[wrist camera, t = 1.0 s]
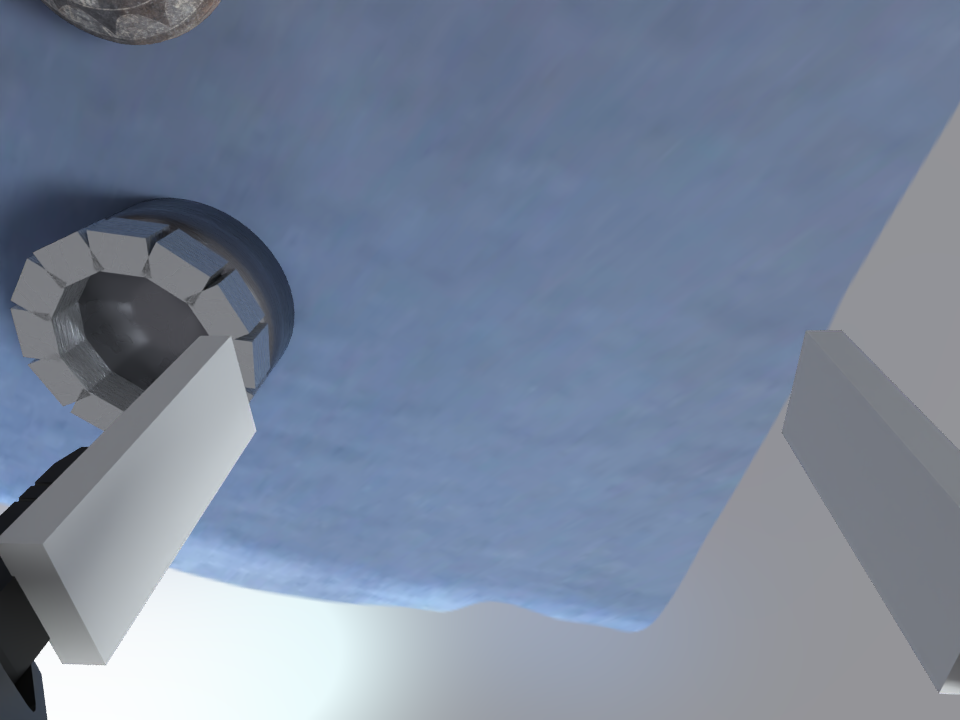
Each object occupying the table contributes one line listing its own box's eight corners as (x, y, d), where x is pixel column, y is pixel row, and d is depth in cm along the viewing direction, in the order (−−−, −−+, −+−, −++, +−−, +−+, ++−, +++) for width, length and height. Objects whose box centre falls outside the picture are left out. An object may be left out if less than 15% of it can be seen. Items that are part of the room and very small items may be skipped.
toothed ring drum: (49, 244, 42) (-39, 286, 36) (220, 163, 39) (157, 192, 32) (173, 409, 48) (118, 470, 42) (331, 350, 45) (298, 408, 38)
